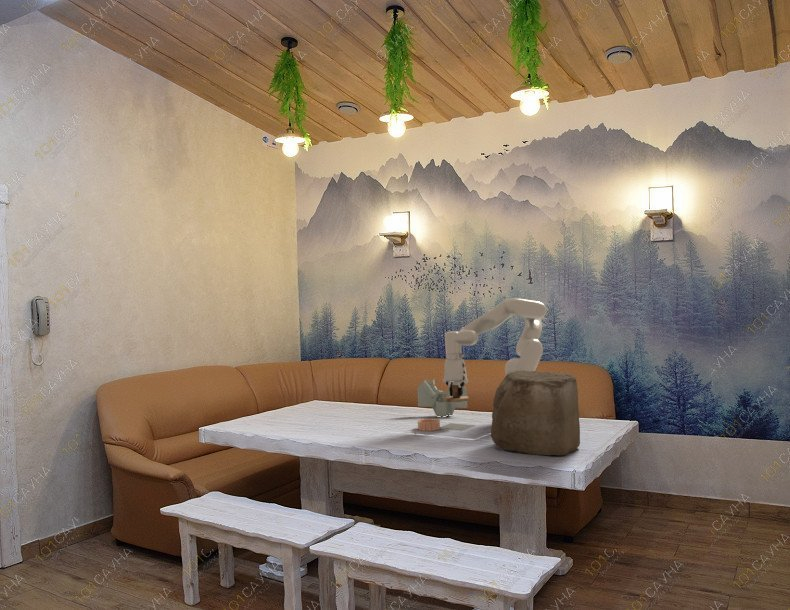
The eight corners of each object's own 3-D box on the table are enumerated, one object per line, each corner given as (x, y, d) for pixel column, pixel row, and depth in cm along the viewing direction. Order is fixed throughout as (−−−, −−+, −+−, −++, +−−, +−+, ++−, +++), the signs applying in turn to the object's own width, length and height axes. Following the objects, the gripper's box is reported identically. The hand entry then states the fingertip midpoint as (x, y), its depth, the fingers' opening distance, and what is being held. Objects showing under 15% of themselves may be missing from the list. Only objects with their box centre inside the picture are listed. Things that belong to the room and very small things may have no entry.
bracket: (469, 416, 335) (468, 378, 335) (465, 418, 329) (464, 379, 329) (420, 414, 346) (419, 377, 346) (416, 416, 340) (414, 379, 340)
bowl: (443, 429, 301) (443, 419, 301) (432, 433, 293) (432, 423, 293) (425, 427, 307) (425, 418, 307) (414, 431, 299) (413, 421, 299)
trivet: (476, 427, 305) (476, 425, 305) (462, 432, 293) (461, 430, 293) (450, 424, 313) (450, 423, 313) (436, 429, 301) (435, 428, 301)
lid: (473, 398, 305) (472, 383, 305) (461, 402, 295) (460, 386, 295) (451, 397, 311) (451, 383, 311) (439, 401, 302) (438, 386, 302)
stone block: (478, 450, 256) (476, 375, 255) (507, 437, 275) (505, 368, 274) (560, 462, 234) (558, 381, 234) (585, 447, 254) (583, 372, 253)
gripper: (473, 356, 302) (475, 395, 302) (443, 356, 311) (445, 394, 311) (465, 357, 295) (467, 397, 295) (434, 358, 305) (437, 396, 305)
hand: (456, 395), depth 303 cm, fingers closed on lid, 3 cm apart
